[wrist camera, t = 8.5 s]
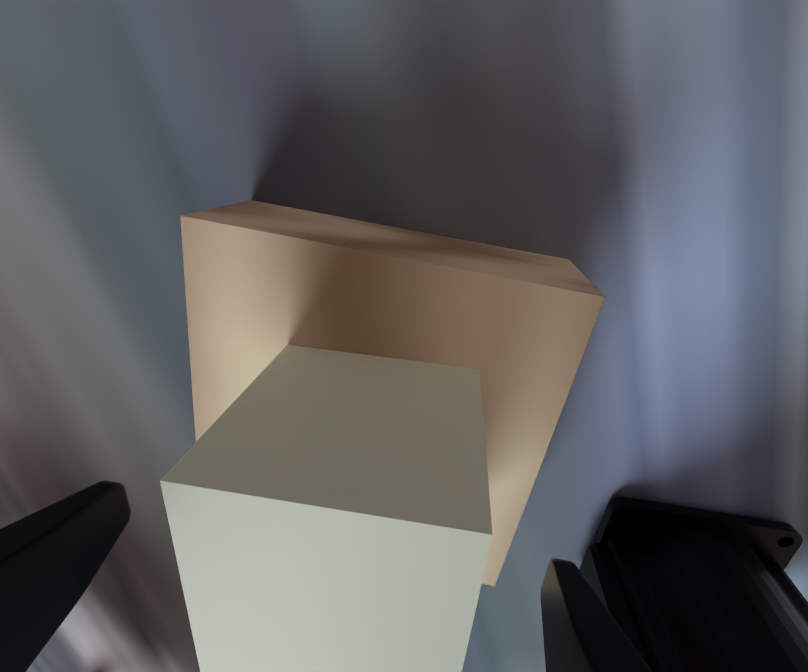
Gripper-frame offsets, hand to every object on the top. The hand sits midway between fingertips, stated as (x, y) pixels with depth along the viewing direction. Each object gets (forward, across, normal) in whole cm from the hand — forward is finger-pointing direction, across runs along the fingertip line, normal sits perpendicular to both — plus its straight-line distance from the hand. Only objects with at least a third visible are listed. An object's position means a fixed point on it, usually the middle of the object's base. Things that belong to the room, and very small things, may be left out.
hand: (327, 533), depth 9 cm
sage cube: (+3, 0, 0) cm, 3 cm away
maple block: (+7, 0, 0) cm, 7 cm away
